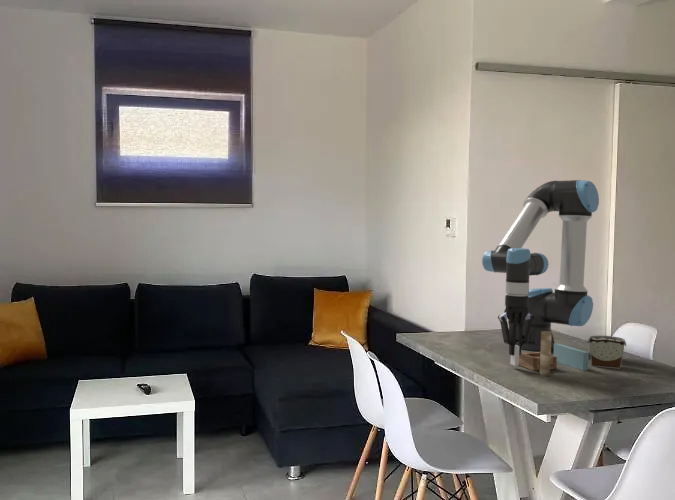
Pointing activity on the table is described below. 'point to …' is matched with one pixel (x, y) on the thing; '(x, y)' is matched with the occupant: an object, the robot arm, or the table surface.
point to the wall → (571, 356)
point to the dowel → (545, 353)
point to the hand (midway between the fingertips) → (514, 364)
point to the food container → (606, 351)
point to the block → (534, 360)
